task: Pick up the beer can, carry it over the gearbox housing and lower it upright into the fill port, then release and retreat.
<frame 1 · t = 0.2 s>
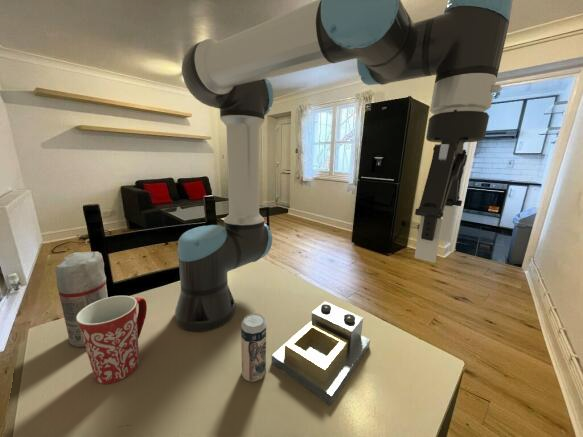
hand: (433, 248, 41), 28 cm above the table, fingers open, 13 cm apart
spray can: (92, 336, 57), on the table
gearbox: (322, 354, 54), on the table
mug: (125, 362, 50), on the table
beer can: (254, 373, 49), on the table
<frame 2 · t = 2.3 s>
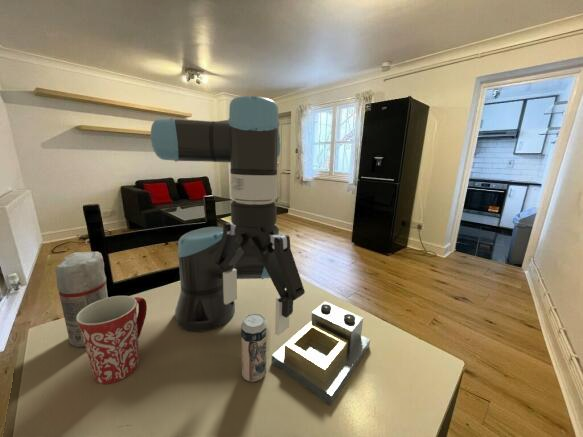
hand: (254, 314, 45), 13 cm above the table, fingers open, 13 cm apart
nothing on the table moved.
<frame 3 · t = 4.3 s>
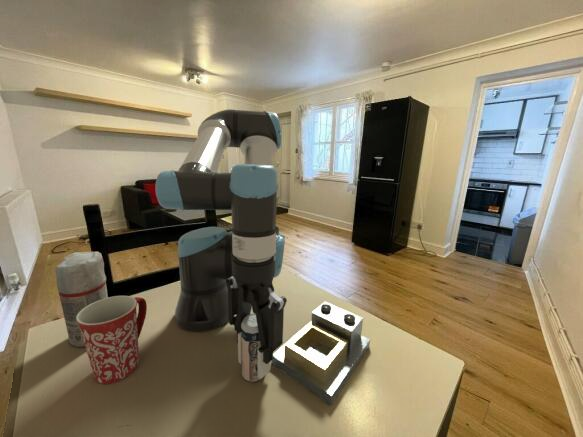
hand: (254, 365, 48), 2 cm above the table, fingers closed on beer can, 5 cm apart
beer can: (254, 373, 49), on the table, touching gripper
everything else where it was.
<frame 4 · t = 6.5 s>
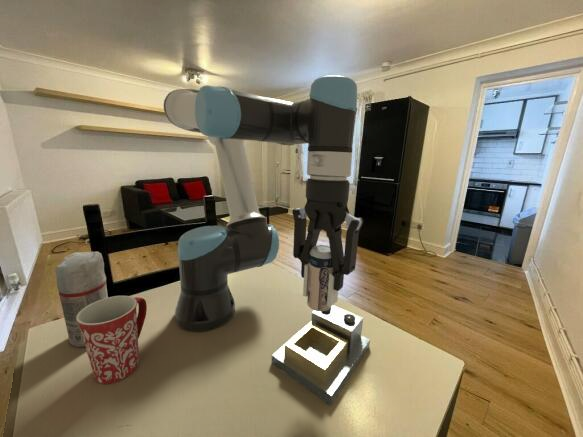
hand: (319, 298, 48), 15 cm above the table, fingers closed on beer can, 5 cm apart
beer can: (319, 307, 48), point 13 cm above the table, touching gripper
everything else where it was.
when the fingers open (6 cm above the table, at t = 8.7 s): beer can drops 1 cm, resting on gearbox.
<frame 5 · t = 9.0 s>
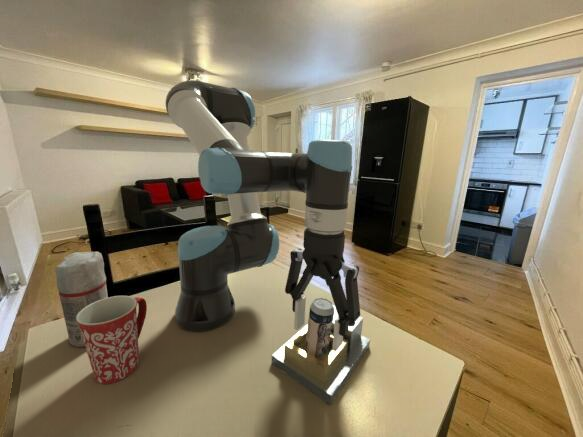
hand: (317, 335, 50), 7 cm above the table, fingers open, 8 cm apart
beer can: (315, 355, 51), point 2 cm above the table, touching gearbox
everything else where it was.
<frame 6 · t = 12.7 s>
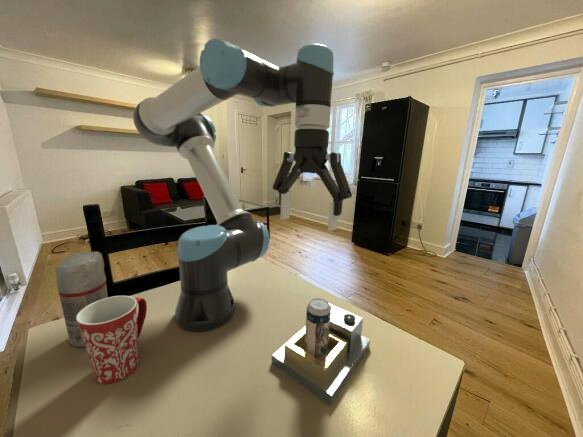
hand: (307, 223, 58), 27 cm above the table, fingers open, 13 cm apart
nothing on the table moved.
at the end: beer can 0.1 cm from the target spot on the gearbox, point 1.8 cm above the gearbox's base; beer can tilted 0°; the gripper is holding nothing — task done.
